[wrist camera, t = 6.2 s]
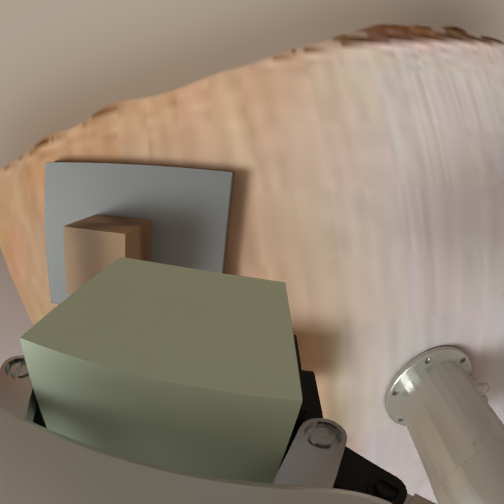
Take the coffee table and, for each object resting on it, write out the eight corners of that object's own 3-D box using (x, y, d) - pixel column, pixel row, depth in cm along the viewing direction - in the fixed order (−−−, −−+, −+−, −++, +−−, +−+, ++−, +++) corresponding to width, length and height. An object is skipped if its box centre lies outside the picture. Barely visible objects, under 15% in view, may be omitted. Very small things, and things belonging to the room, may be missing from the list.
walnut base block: (151, 219, 29) (125, 233, 23) (150, 280, 31) (126, 305, 25) (96, 214, 29) (63, 226, 23) (97, 271, 31) (67, 293, 25)
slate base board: (234, 171, 29) (232, 172, 28) (218, 329, 33) (216, 336, 32) (53, 161, 29) (46, 162, 28) (58, 297, 34) (51, 302, 32)
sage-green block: (285, 282, 11) (302, 400, 6) (258, 408, 13) (254, 526, 7) (120, 256, 11) (19, 337, 5) (125, 383, 13) (71, 484, 7)
